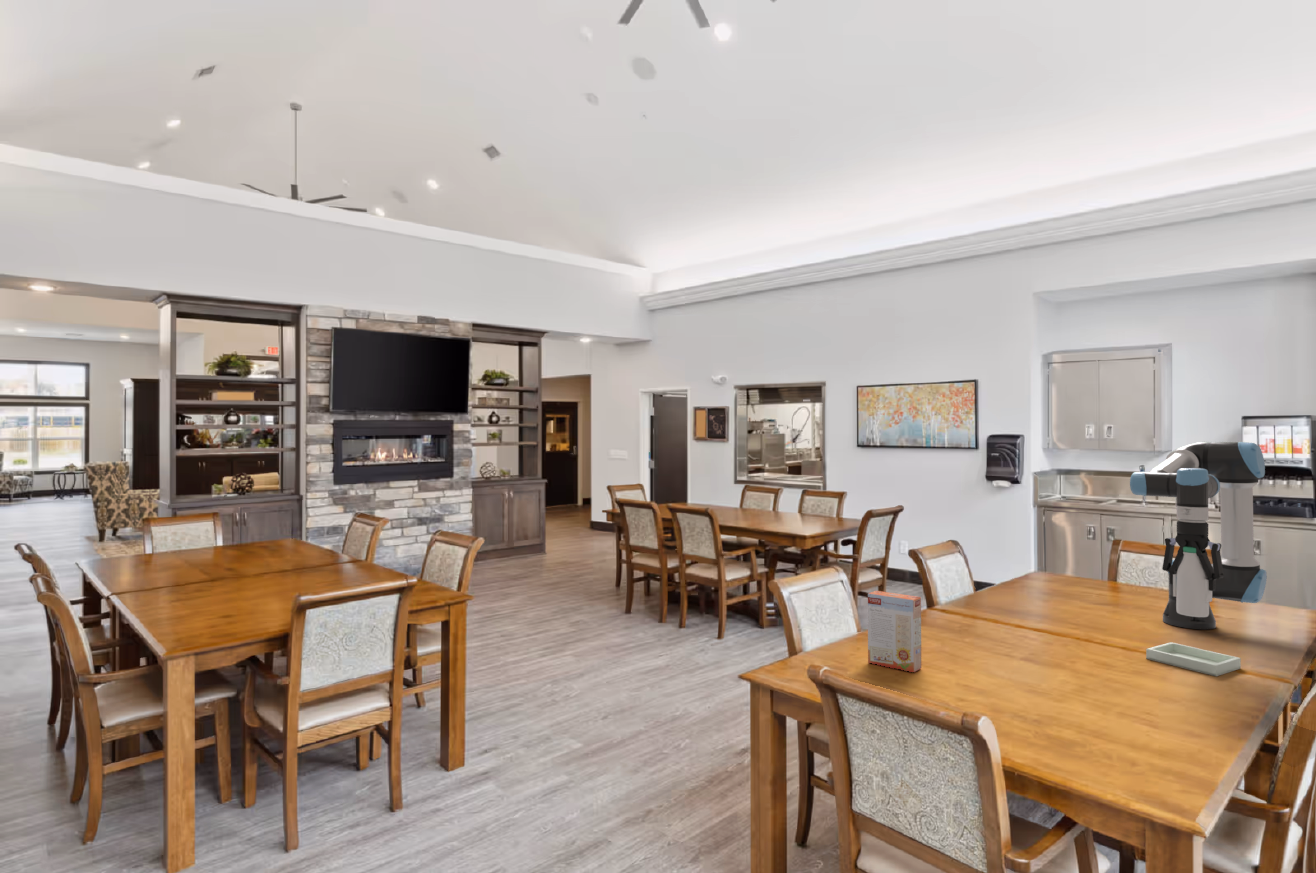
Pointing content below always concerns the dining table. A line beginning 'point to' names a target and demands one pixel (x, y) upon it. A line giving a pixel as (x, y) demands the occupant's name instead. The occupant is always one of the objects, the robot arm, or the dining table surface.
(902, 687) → the dining table surface
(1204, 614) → the milk bottle
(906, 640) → the cracker box
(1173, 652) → the tray
